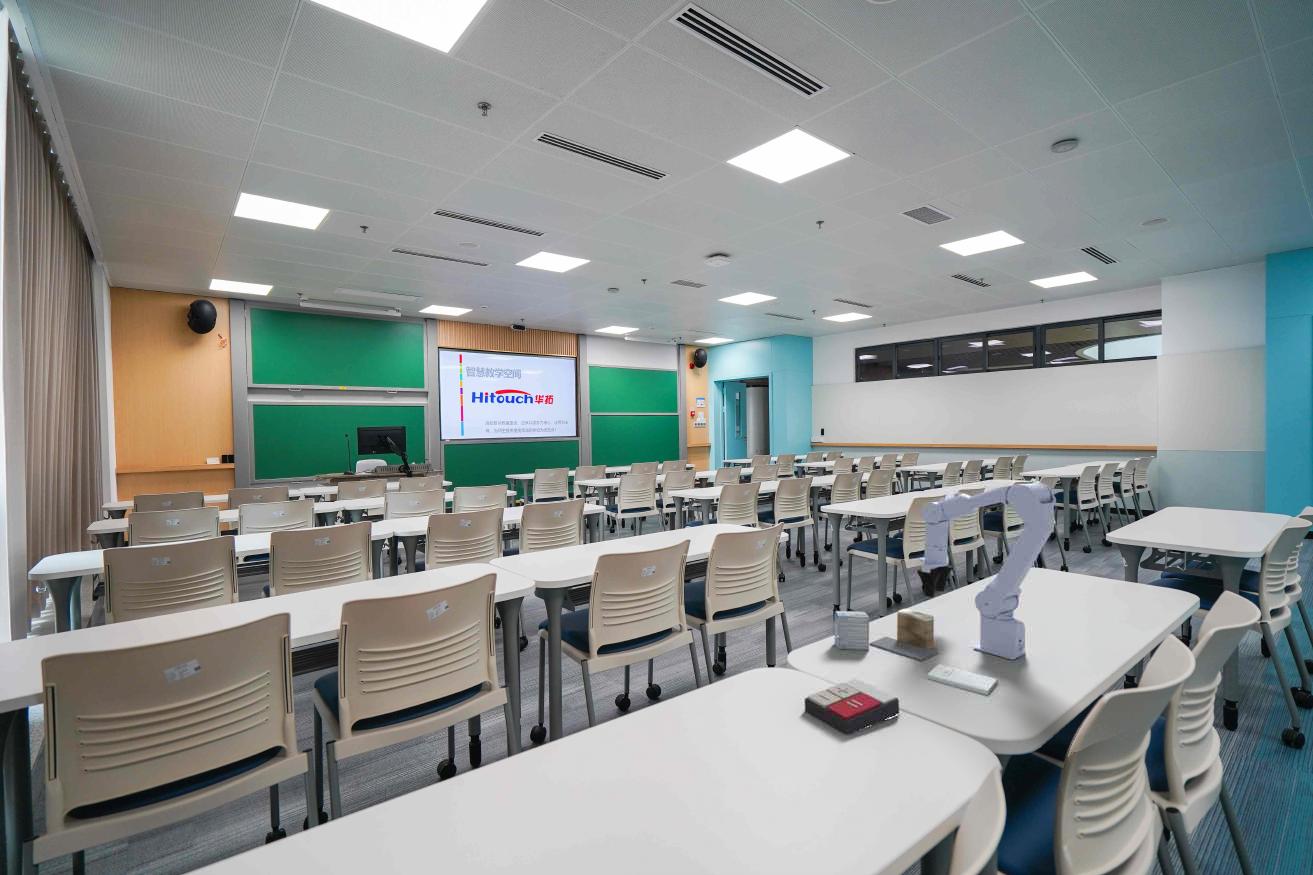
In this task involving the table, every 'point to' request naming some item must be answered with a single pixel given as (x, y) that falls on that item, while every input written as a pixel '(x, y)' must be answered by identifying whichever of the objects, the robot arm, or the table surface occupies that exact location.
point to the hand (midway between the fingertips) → (934, 593)
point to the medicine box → (852, 630)
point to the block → (915, 628)
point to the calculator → (851, 706)
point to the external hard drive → (963, 679)
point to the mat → (904, 648)
